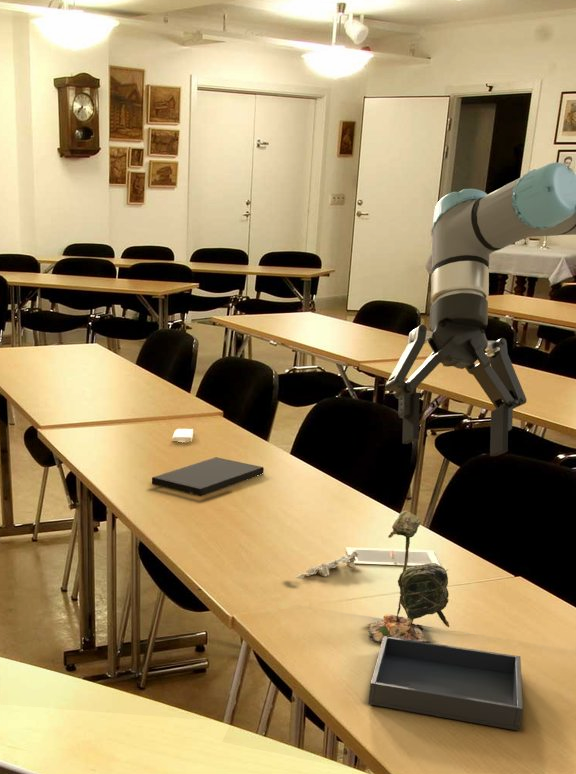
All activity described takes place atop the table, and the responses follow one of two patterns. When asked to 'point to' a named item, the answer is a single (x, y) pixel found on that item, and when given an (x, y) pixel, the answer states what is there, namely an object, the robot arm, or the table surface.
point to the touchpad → (392, 556)
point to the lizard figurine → (331, 565)
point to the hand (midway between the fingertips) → (454, 447)
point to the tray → (448, 682)
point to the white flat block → (183, 435)
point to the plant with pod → (413, 591)
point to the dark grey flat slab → (207, 476)
